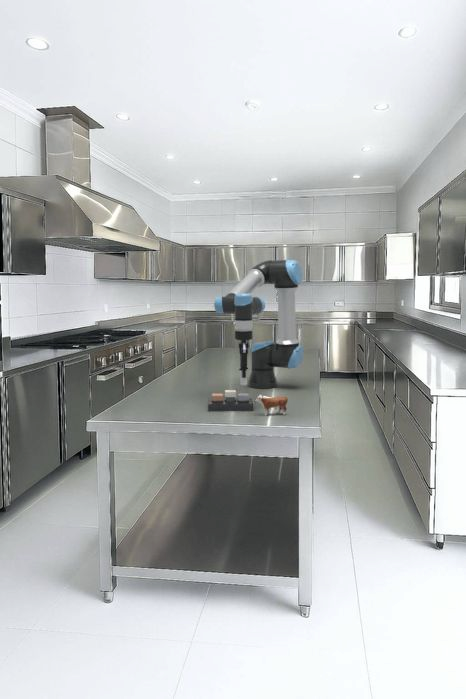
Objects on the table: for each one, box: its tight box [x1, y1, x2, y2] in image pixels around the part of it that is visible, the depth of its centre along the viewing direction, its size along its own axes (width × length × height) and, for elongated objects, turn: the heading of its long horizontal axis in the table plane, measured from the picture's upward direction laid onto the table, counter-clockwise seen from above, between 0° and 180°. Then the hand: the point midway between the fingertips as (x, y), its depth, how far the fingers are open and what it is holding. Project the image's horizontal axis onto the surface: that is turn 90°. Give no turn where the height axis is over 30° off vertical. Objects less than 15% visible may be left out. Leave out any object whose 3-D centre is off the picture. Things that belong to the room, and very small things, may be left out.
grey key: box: [237, 392, 250, 402], centre depth 238 cm, size 5×5×5 cm
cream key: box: [224, 389, 237, 402], centre depth 238 cm, size 5×5×5 cm
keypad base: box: [207, 397, 254, 412], centre depth 238 cm, size 19×12×3 cm, turn 92°
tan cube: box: [211, 393, 224, 402], centre depth 238 cm, size 5×5×5 cm
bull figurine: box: [254, 394, 288, 416], centre depth 227 cm, size 4×13×8 cm, turn 95°
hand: (243, 384), depth 238 cm, fingers closed
